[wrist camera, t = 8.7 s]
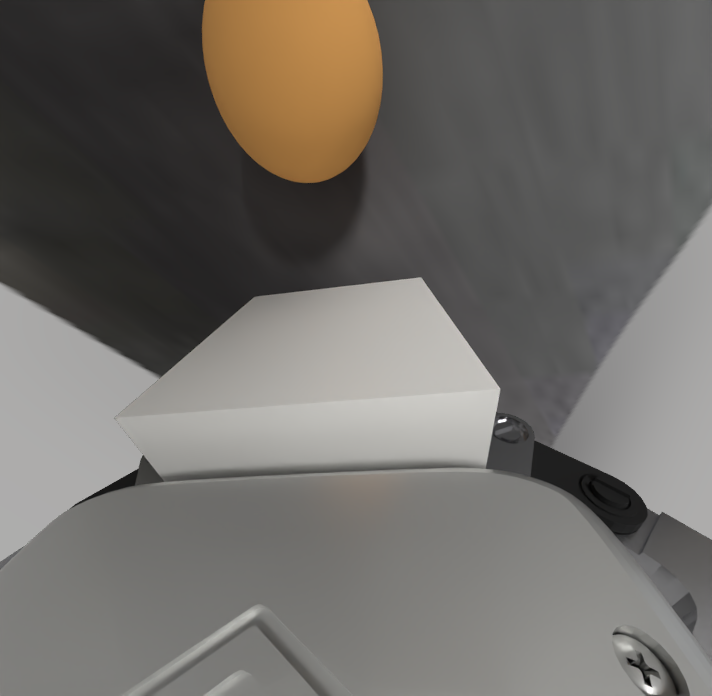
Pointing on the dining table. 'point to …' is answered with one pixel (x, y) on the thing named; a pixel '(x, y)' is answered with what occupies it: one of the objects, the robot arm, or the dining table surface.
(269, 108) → the ball
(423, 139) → the dining table surface
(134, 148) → the dining table surface
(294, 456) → the white cube
